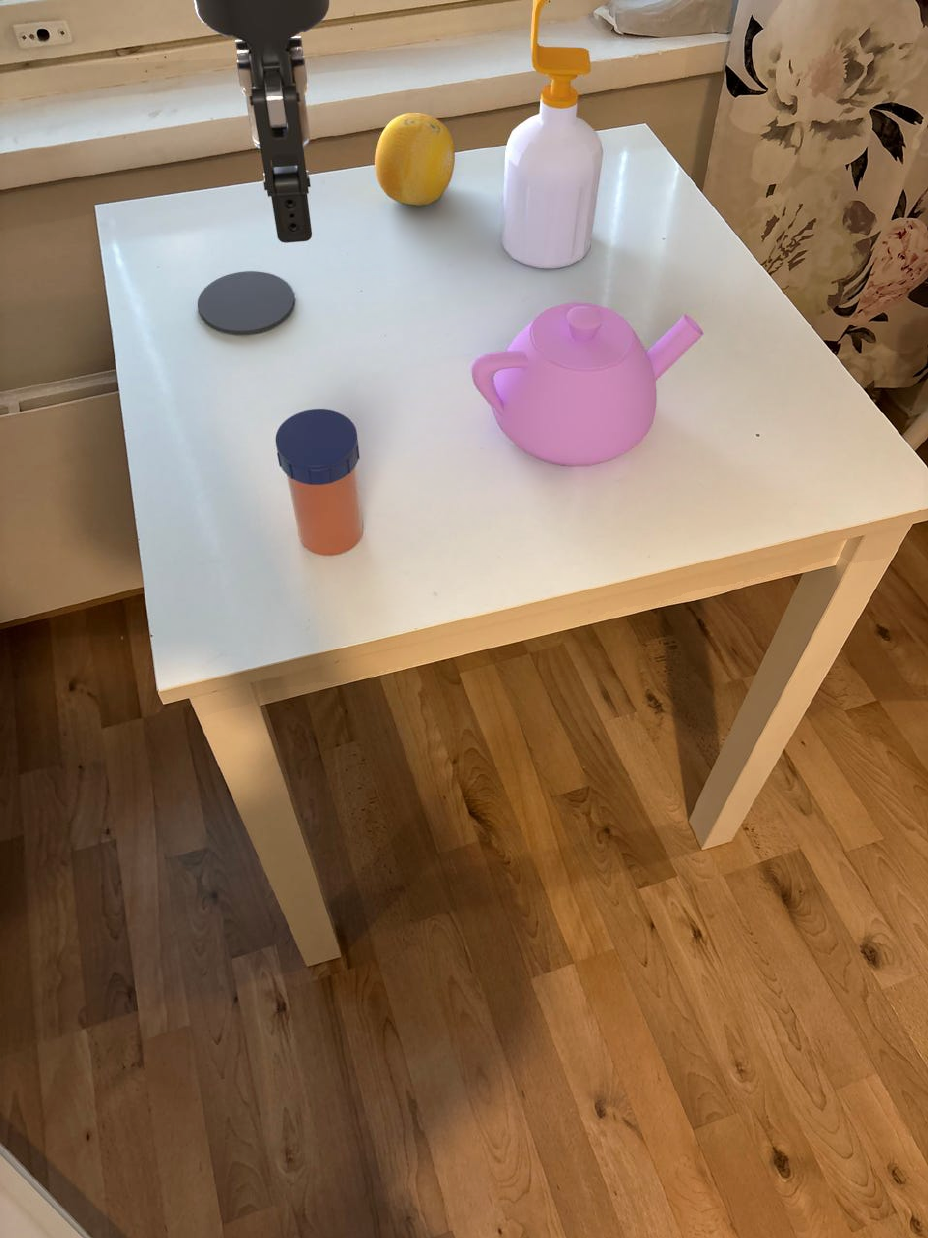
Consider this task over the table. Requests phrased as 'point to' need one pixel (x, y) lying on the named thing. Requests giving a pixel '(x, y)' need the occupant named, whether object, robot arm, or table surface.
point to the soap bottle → (552, 167)
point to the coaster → (246, 303)
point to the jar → (328, 514)
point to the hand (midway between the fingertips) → (291, 201)
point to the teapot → (578, 383)
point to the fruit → (414, 159)
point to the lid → (317, 446)
